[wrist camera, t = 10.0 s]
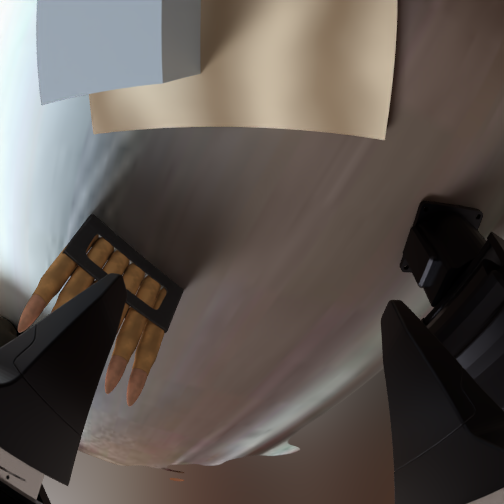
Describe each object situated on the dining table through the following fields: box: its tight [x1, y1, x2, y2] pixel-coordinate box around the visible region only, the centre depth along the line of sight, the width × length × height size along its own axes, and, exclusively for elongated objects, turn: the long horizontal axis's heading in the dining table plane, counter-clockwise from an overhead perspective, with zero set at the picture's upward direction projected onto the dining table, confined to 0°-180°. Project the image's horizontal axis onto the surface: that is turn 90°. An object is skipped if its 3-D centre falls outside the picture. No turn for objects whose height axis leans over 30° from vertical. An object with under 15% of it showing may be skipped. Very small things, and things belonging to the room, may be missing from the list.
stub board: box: [89, 0, 397, 140], centre depth 12 cm, size 19×13×5 cm
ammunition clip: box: [18, 215, 183, 406], centre depth 21 cm, size 11×2×12 cm, turn 43°
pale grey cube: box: [36, 0, 201, 105], centre depth 11 cm, size 6×6×6 cm
